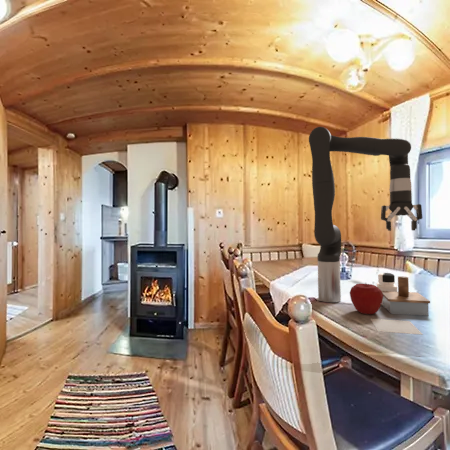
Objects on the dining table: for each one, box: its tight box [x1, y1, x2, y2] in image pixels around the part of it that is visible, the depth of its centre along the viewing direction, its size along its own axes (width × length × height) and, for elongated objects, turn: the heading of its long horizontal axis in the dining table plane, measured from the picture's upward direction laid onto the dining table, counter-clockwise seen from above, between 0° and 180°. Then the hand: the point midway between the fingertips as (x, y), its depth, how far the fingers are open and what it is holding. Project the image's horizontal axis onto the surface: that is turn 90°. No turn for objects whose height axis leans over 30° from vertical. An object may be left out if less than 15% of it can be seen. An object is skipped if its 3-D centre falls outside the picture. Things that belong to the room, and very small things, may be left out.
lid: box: [382, 276, 431, 304], centre depth 110 cm, size 13×13×8 cm
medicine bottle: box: [376, 272, 398, 304], centre depth 123 cm, size 7×7×12 cm
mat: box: [370, 318, 424, 335], centre depth 93 cm, size 12×12×1 cm
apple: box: [349, 283, 383, 316], centre depth 108 cm, size 11×11×12 cm
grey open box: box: [382, 296, 430, 316], centre depth 110 cm, size 12×12×5 cm
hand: (401, 230), depth 118 cm, fingers open, 8 cm apart
